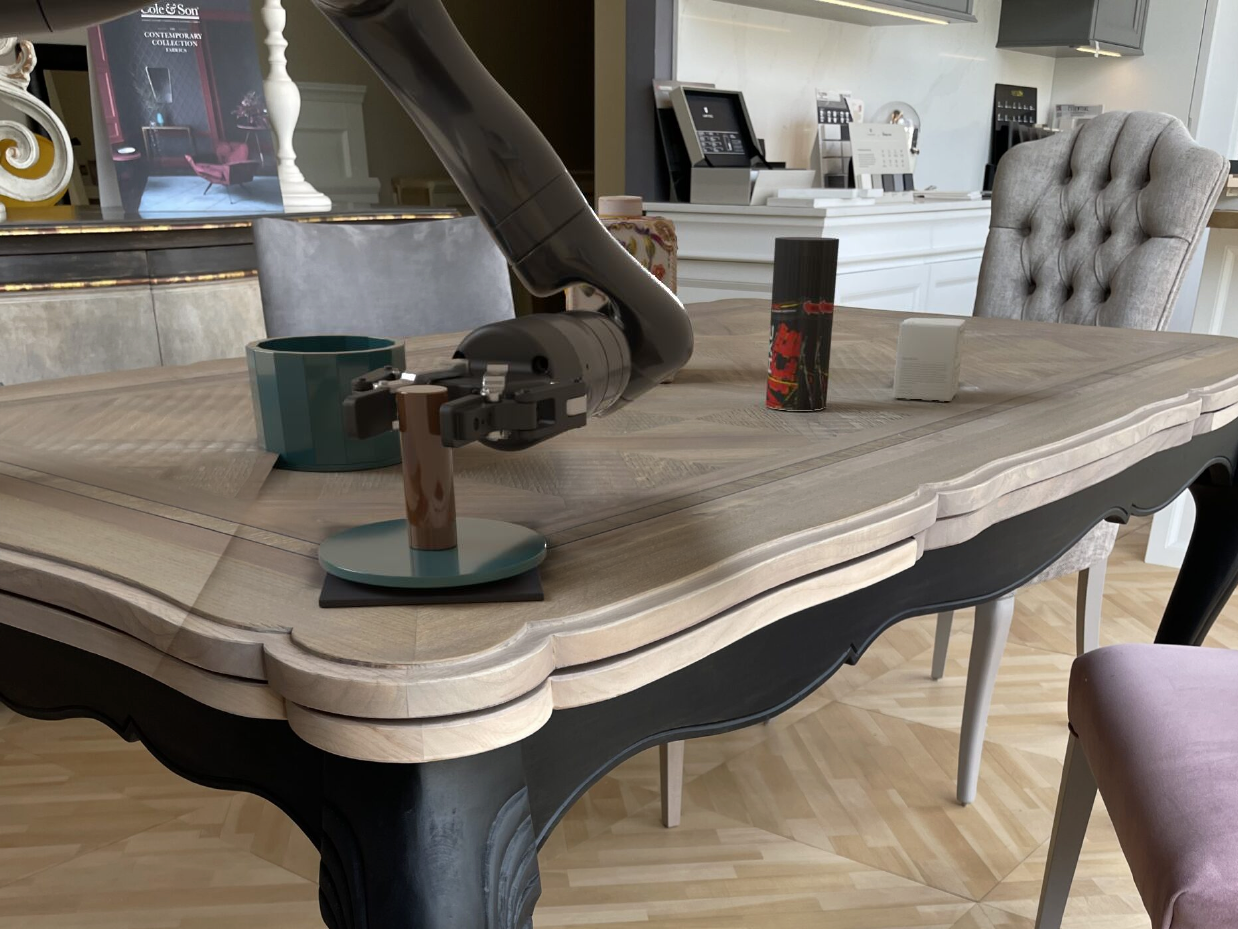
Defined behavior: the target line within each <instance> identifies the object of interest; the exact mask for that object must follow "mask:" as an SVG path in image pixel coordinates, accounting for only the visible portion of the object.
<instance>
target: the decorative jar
mask: <svg viewBox="0 0 1238 929" xmlns="http://www.w3.org/2000/svg"><path fill="white" fill-rule="evenodd" d="M596 216H597V218H598V219H599V220H600V222H601V223H602V224H603V225H604V227H605V228H606V229H607V230H608V231H609V232H610V234H611V235H612V236H613V237H614V238H615V239H616V240H617V241H618V242H619V243H620V244H621V245H622V246H623V247H624V248H625V249H626V250H627V251H628V252H629V253H630V254H631V255H632V256H633V257H634V258H635V259H636V260H637V261H638V262H639V263H640V264H641V265H642V266H643V267H644V268H645V269H647V270H648V271H649V272H650V273H651V274H652V275H653V276H655V277H656V278H657V279H658V280H659V281H660V282H661V283H662V284H664V285H665V286H666V287H667V288H668V289H669V290H670V291H671V292H672V293H673V294H674V295H675V296H676V297H677V295H678V291H677V290H678V282H677V281H678V280H677V279H678V276H677V275H678V251H679V246H678V236H677V235H676V227H675V222H674V220H673V219H671V218H667V217H664V216H661V215H645V216H643V197H642V196H636V195H635V196H634V195H609V196H607V195H606V196H600V197H598V214H597V215H596ZM564 294H565V297H566V298H565V309H566V310H565V311H568V310H575V309H587V310H594V309H595V308H597V307H598V306H599V305H601V304H602V303H603V302H605V301H606V300H608V299H609V298H608V297H607V296H606V295H605V294H603V293H602V292H600V291H598V290H597V289H595V288H593V287H591V286H589V285H585V284H579V285H575V286H572V287H569V288H567V289H565V290H564ZM677 298H678V297H677ZM674 379H675V374H674V375H672V376H671V377H669V378H667V379H666V380H664V381H663V382H662V383H672V382H673V381H674Z"/></svg>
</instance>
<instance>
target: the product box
mask: <svg viewBox="0 0 1238 929" xmlns="http://www.w3.org/2000/svg"><path fill="white" fill-rule="evenodd" d="M966 324H967V320H966V319H962V318H939V317H938V318H934V317H932V318H931V317H909V318H907V319H904V320H903V321H902V322H900V323H899V330H898V338H897V349H896V358H895V359H896V360H895V367H894V368H895V369H894V377H893V385H892V386H893V388H892V399H897V398H906V399H905V400H910V399H922V400H921V401H932V400H939V401H938V402H944V401H950V402H951V401H952V399H953V398H954V397H955V396H956V395H957V394H958V390H959V382H960V381H959V380H960V371H961V362H962V354H963V347H964V346H963V345H964V340H965V332H966V331H965V330H966ZM956 393H957V394H956ZM955 394H956V395H955ZM954 395H955V396H954ZM953 396H954V397H953Z"/></svg>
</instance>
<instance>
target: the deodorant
mask: <svg viewBox="0 0 1238 929" xmlns="http://www.w3.org/2000/svg"><path fill="white" fill-rule="evenodd" d="M839 246H840V238H836V237H821V236H820V237H819V236H818V237H817V236H781V237H775V238H774V252H773V268H772V269H773V270H772V271H773V272H772V288H771V289H772V290H771V304H770V305H771V308H770V323H769V324H770V325H769V341H768V342H769V343H768V358H767V359H768V360H767V376H766V395H765V406H766V405H767V406H769V407H772V408H777V409H785V410H815V409H821V408H824V407H826V408H827V401H828V399H827V398H828V386H829V376H830V375H829V373H830V364H831V363H830V362H831V350H832V349H831V348H832V338H833V337H832V336H833V335H832V334H833V322H834V312H835V298H836V287H837V286H836V285H837V273H838V272H837V271H838V260H839Z"/></svg>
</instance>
